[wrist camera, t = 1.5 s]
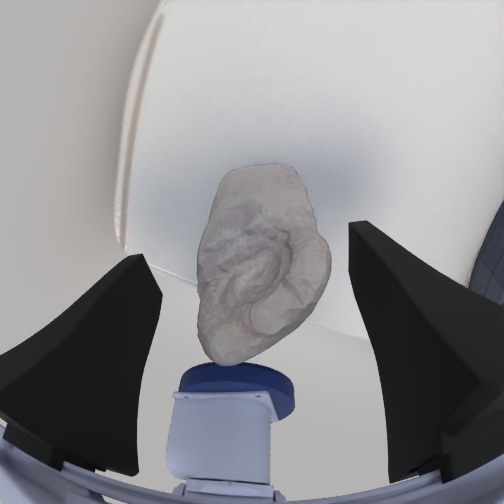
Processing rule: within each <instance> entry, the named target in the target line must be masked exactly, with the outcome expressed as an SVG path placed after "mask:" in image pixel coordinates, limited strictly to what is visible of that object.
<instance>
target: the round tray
mask: <svg viewBox="0 0 504 504" xmlns="http://www.w3.org/2000/svg"><path fill="white" fill-rule="evenodd" d="M469 289H470V290H472V291H474V292H476V293H478V294H480V295H482V296H484V297H486V298H487V299H490V300H492V301H494V302H496V303H498V304H501V305H503V306H504V202H503V204H502V206H501V207H500V209H499V211H498V213H497V215H496V217H495V219H494V221H493V223H492V225H491V227H490V229H489V232H488V234H487V236H486V239H485V241H484V243H483V245H482V248H481V251H480V253H479V256H478V259H477V261H476V265H475V268H474V271H473V274H472V278H471V283H470V287H469Z"/></svg>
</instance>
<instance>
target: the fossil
mask: <svg viewBox="0 0 504 504" xmlns="http://www.w3.org/2000/svg"><path fill="white" fill-rule="evenodd" d="M313 212H314V209H313V207H312V205H311V203H310V200H309V198H308V193H307V190H306V188H305V187H304V185H303V184H302V182H301V180H300V178H299V176H298V174H297V171H295V170H294V168H293V167H291V166H288V165H284V164H275V163H271V164H263V165H254V166H244V167H241V168H238V169H235V170H233V171H231V172H230V173H228V174H227V175H226V176H225V177H224V178H223V179H222V180H221V182H220V184H219V188H218V191H217V194H216V196H215V199H214V202H213V205H212V209H211V212H210V217H209V223H208V225H207V227H206V229H205V231H204V234H203V237H202V239H201V242H200V246H199V250H198V256H197V278H198V286H197V293H198V294H199V297H200V300H201V301H200V306H199V313H198V323H197V328H198V338H199V340H200V343H201V345H202V347H203V349H204V352H205V354H206V355H207V356H208V357H209V358H210V359H211V360H212V361H214V362H215V363H216V364H218V365H219V366H234V365H237V364H239V363H242V362H244V361H246V360H248V359H250V358H252V357H254V356H256V355H258V354H260V353H261V352H263V351H265V350H266V349H268V348H270V347H271V346H273V345H274V344H276V343H277V342H278V341H279V340H281V339H282V338H284V337H285V336H287V335H288V334H290V333H291V332H293V331H294V330H295V329H297V328H298V327H299V326H300V325H301V324H302V323H303V322H304V321H305V319H306V318H307V317H308V316H309V315H310V314H311V313H312V311H313V310H314V308H315V306H316V305H317V303H318V301H319V299H320V298H321V296H322V294H323V292H324V289H325V287H326V285H327V282H328V280H329V277H330V273H331V262H332V258H331V251H330V249H329V246H328V243H327V242H326V240H325V239H324V238H323V237H322V236H321V235H320V234H319V233H318V231H317V221H316V217H315V215H314V213H313Z"/></svg>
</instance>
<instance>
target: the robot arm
mask: <svg viewBox="0 0 504 504" xmlns="http://www.w3.org/2000/svg"><path fill="white" fill-rule="evenodd" d="M348 272H349V276H350V280H351V284H352V288H353V292H354V296H355V299H356V302H357V305H358V307H359V310H360V313H361V316H362V318H363V321H364V324H365V327H366V330H367V333H368V335H369V338H370V341H371V344H372V347H373V350H374V354H375V357H376V361H377V366H378V371H379V376H380V382H381V388H382V394H383V401H384V408H385V417H386V428H387V441H388V474H389V482H390V484H391V483H394V482H398V481H401V480H404V479H408V478H411V477H414V476H417V475H419V477H416V478H413V479H410V480H406V481H403V482H400V483H397V484H393V485H389V486H385V487H381V488H377V489H373V490H368V491H364V492H360V493H354V494H348V495H342V496H336V497H329V498H321V499H312V500H301V501H286V498H285V497H284V495H282V494H281V493H280V491H273V485H270V429H271V427H270V426H271V423H272V422H277V421H278V416H277V413H276V410H275V408H274V405H273V402H272V399H271V396H270V394H269V392H268V391H265V390H262V391H244V392H173V397H174V398H175V403H174V409H173V414H172V419H171V425H170V430H169V435H168V440H167V446H166V462H167V467H168V469H169V471H170V473H171V474H172V475H173V476H174V477H175V478H178V479H183V480H187V481H186V484H184V483H181V484H179V485H178V486H177V487H175V488H174V489H173V491H172V494H170V493H165V492H160V491H155V490H151V489H147V488H142V487H139V486H135V485H131V484H128V483H124V482H121V481H117V480H114V479H111V478H108V477H105V476H102V475H99V474H96V473H95V469H97V470H100V471H103V472H105V471H106V469H107V470H110V471H113V472H117V473H120V474H124V475H128V476H131V477H132V476H135V475H137V474H138V472H139V466H138V453H137V417H138V404H139V395H140V388H141V381H142V376H143V372H144V367H145V364H146V360H147V357H148V354H149V350H150V347H151V344H152V340H153V337H154V334H155V330H156V327H157V323H158V320H159V315H160V310H161V303H162V297H163V294H162V292H161V290H160V288H159V286H158V285H157V282H156V280H155V278H154V277H153V274H152V272H151V270H150V268H149V266H148V264H147V262H146V260H145V258H144V256H143V254H137V255H131V256H128V257H126V258H125V259H123V260H122V261H121V262H119V263H118V264H117V265H116V266H115V267H113V268H112V269H111V270H110V271H109V272H108V273H107V274H105V275H104V276H103V277H102V278H101V279H100V280H99V281H98V282H96V284H94V285H93V286H92V287H91V288H90V289H89V290H88V291H87V292H86V293H85V294H83V295H82V296H81V297H80V298H79V299H78V300H77V301H75V302H74V303H73V304H72V305H71V306H70V307H69V308H68V309H66V310H65V311H64V312H63V313H62V314H61V315H59V316H58V317H57V318H56V319H54V320H53V321H52V322H51V323H49V324H48V325H47V326H45V327H44V328H43V329H41V330H40V331H38V332H37V333H35V334H34V335H33V336H31V337H30V338H28V339H27V340H25V341H24V342H22V343H21V344H19V345H17V346H16V347H14V348H12V349H11V350H9V351H7V352H5V353H4V354H2V355H0V418H1V419H3V420H4V421H5V422H7V426H6V428H5V427H3V426H2V425H0V498H1V499H2V501H3V503H4V504H111V503H108V502H106V501H104V499H103V496H102V495H104V496H107V497H110V498H113V499H116V500H118V501H122V502H125V503H128V504H504V306H503V305H501V304H498V303H496V302H494V301H492V300H490V299H487V298H486V297H484V296H482V295H480V294H478V293H476V292H474V291H472V290H470V289H468V288H466V287H464V286H462V285H461V284H459V283H457V282H455V281H454V280H452V279H450V278H449V277H447V276H445V275H444V274H442V273H440V272H439V271H437V270H436V269H434V268H432V267H431V266H429V265H428V264H427V263H425V262H424V261H422V260H421V259H419V258H418V257H416V256H415V255H413V254H412V253H411V252H409V251H408V250H406V249H405V248H404V247H402V246H401V245H400V244H398V243H397V242H395V241H394V240H393V239H391V238H390V237H389V236H387V235H386V234H385V233H383V232H382V231H381V230H379V229H378V228H377V227H375V226H374V225H372V224H371V223H370V222H368V221H366V220H365V221H357V222H350V223H349V269H348ZM101 494H102V495H101Z"/></svg>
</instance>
